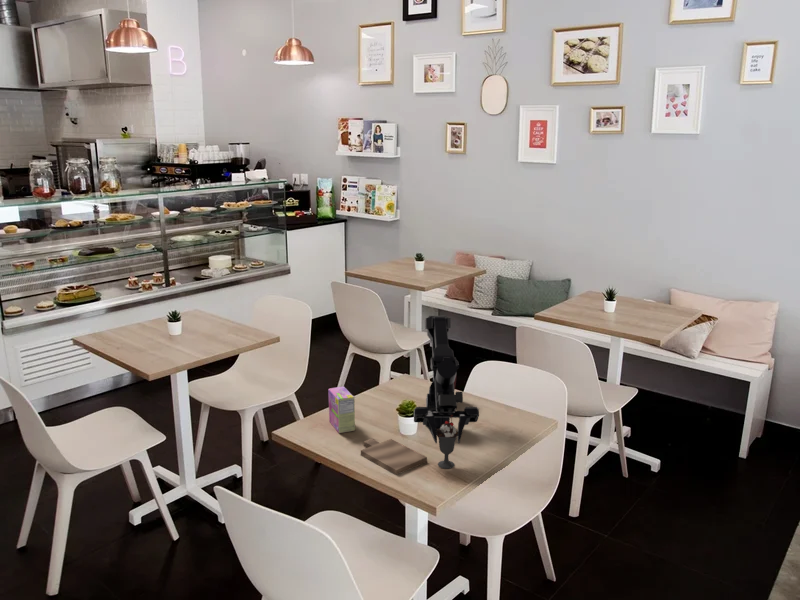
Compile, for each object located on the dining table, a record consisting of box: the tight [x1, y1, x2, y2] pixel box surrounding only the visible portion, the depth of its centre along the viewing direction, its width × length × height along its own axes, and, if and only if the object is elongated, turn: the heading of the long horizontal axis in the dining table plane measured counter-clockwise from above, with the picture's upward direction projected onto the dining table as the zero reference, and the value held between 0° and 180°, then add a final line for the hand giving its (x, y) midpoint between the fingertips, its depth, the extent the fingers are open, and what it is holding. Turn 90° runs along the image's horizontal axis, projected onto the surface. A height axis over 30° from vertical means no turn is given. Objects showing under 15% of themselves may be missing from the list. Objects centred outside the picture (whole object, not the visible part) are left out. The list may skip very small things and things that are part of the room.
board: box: [360, 438, 428, 476], centre depth 198 cm, size 20×12×2 cm, turn 42°
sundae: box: [436, 415, 459, 470], centre depth 191 cm, size 7×7×15 cm
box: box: [327, 386, 356, 434], centre depth 217 cm, size 10×6×12 cm, turn 23°
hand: (447, 442), depth 190 cm, fingers closed on sundae, 6 cm apart
